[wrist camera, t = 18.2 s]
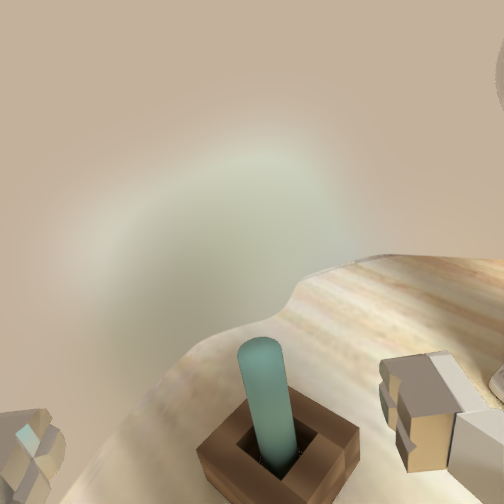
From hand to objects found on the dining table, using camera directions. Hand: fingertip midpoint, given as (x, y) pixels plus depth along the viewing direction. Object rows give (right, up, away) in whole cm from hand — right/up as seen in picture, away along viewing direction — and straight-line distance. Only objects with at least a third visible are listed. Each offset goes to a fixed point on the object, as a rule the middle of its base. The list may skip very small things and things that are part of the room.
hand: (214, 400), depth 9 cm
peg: (+4, -18, +28) cm, 34 cm away
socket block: (+4, -18, +28) cm, 34 cm away
